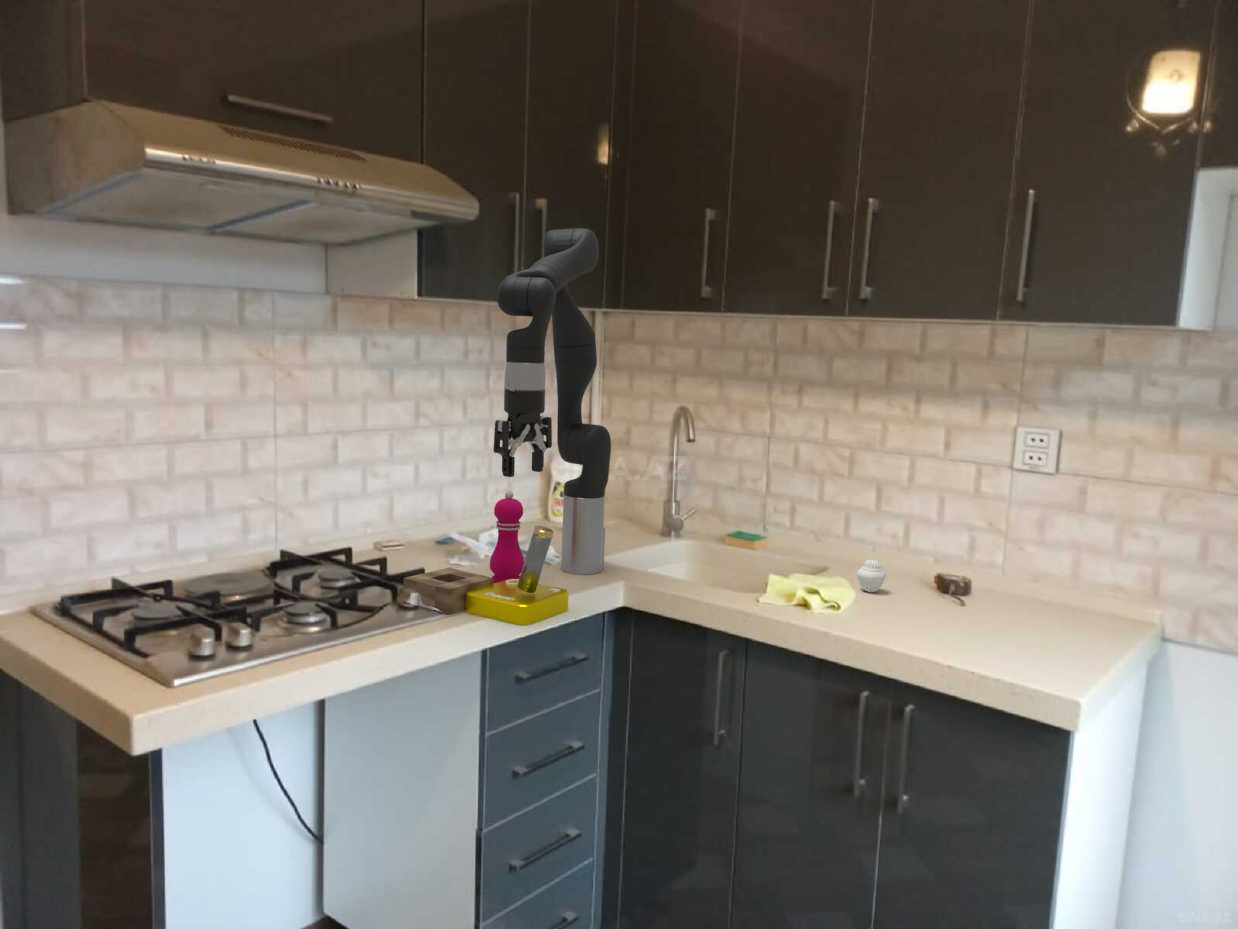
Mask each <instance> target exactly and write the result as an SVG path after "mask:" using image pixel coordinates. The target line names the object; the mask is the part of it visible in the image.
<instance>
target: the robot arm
mask: <svg viewBox="0 0 1238 929" xmlns="http://www.w3.org/2000/svg"><path fill="white" fill-rule="evenodd" d="M599 255H600V253H599V243H598V238H597V235H596V234H595V232H593V230H591V229H589V228H581V227H577V228H576V227H575V228H563V229H559V228H558V229H550V230H548V231H547V232H546V233H545V235H544V238H543V257H542V258H540V259H539V260H537V261H535V262H534V263H533V264H531V266H530V267H529V268H527V269H523V270H520V271H517V272H515V273H512V274H509V275H507V276H506V277H504V278H503V280H502V281H501V282H500V283H499V286H498V288H497V292H496V302H497V306H498V307H499V309H500V310H501V311H502V312H503V314H506V315H507V316H512V317H532V319H531V322H530V323H529V325H528V326H526V327H523V328H517V329H514V330H511V331H509V332H508V333H507V335H506V346H505V347H506V348H505V349H506V353H505V354H506V357H505V358H506V360H505V361H506V362H505V369H504V370H505V371H504V380H503V381H504V383H503V386H504V389H503V391H504V392H503V393H504V395H503V411H504V412H505V413H507V419H506V420H503V419H501V420H500V419H497V420H495V422H494V432H493V434H494V438H493V453H495V454H498V455H500V456H501V472H502V476H503V477H507V478H511V477H512V478H513V477H515V466H516V465H515V461H516V460H515V459H516V458H515V457H516V456H515V454H516V452H517V450H518V448H520V447H521V446H522V443H527V444H529V445H530V447H531V448H530V449H532V451H531V471H532V472H536V473H542V472H543V471H544V465H545V464H544V459H545V452H546V451H547V450H548V449H551V448H552V447H553V443H552V442H553V439H552V438H553V437H552V436H553V434H552V433H553V432H552V431H553V430H552V429H553V427H552V426H553V425H552V422H553V420H552V417H551V416H544V415H543V416H542V415H541V414H544V413H545V408H546V405H545V404H546V370H545V356H546V355H545V354H546V353H545V351H546V350H545V347H546V338H547V333H548V329H549V324H550V322H551V323H552V324H551V326H552V342H553V343H552V344H553V356H554V357H553V358H554V364H555V365H554V366H555V377H556V391H557V392H556V393H557V395H556V396H557V422H556V423H557V427H556V428H557V429H556V431H557V432H556V434H557V435H556V437H557V438H556V439H557V449H558V454H559V455H560V458H561V459H562V460H563V461H564V462H565V463H568V464H574V465H579V466H582V468H581V473H580V475H579V476H577V477H576V478H573V479H569V480H567V481H565V482H564V484H563V500H562V503H563V504H562V528H561V529H562V530H561V531H562V532H561V533H562V534H561V552H560V553H561V554H560V555H561V557H560V558H561V559H560V562H561V563H560V570H561V571H562V572H564V573H567V574H571V575H579V576H580V575H584V576H585V575H594V574H599V573H601V572H602V570H603V569H605V568H604V567H605V544H606V542H605V541H606V528H605V527H604V526H605V525H604V524H605V522H604V521H605V502H606V500H605V498H606V497H605V495H606V487H607V485H608V481H609V476H610V474H609V472H610V465H611V464H610V463H611V453H612V452H611V450H612V441H611V440H612V439H611V435H610V434H611V433H610V432H609V431H608V429H607V428H606V427H605V426H603V425H600V424H594V423H593V424H591V423H583V419H582V418H583V417H582V407H583V406H582V404H583V398H584V395H585V393H586V390H587V388H588V386H589V384H590V382H591V381H592V379H593V376H594V374H595V371H596V369H597V366H598V364H597V363H598V356H597V343H596V342H597V341H596V333H595V331H594V329H593V327H592V325H591V324H590V322H589V320H588V319H587V317H586V316H585V315H584V314H583V312H582V310H581V309H580V308H579V307H578V305H577V304H576V302H575V301H574V299H573V297H572V295H571V293H570V290H569V287H568V284H569V283H570V282H572V281H574V280H575V279H577V278H579V277H581V276H582V275H585V274H587V273H590V272H592V271H593V270H594V269H595V268H596V266H597V264H598V263H599Z"/></svg>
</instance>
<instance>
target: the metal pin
mask: <svg viewBox="0 0 1238 929" xmlns="http://www.w3.org/2000/svg"><path fill="white" fill-rule="evenodd" d="M553 535H554V530H553V529H551V528H549V527H546V526H543V525H542V526H541V525H536V526H534V529H533V532H532V536H531V539H530V543H529V545H528V549H527V552H526V555H525V559H524V565H523V568H522V571H521V573H520V575H519V576H520V578H519V581H518V585H517V587H518V588H519V589H520V590H522V591H524V592H528V593H534V592H536V588H537V585H538V584H539V581H540V578H541V574H542V571H543V568H544V565H545V561H546V558H547V556H548V552H549V549H550V546H551V542H552V540H553Z"/></svg>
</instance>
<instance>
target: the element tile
mask: <svg viewBox="0 0 1238 929" xmlns="http://www.w3.org/2000/svg"><path fill="white" fill-rule="evenodd" d="M518 581H519V579H508V580H504V581H501V582H498V583H494V584H491V585H488V586H484V587H481V588H478V589H474V590H471V591H468V592H467V593H466V601H465V610H464V612H465V613H466V614H469V615H473V616H474V615H475V616H477V617H482V618H487V619H490V620H495V621H497V622H503V623H507V624H511V625H516V626H531V625H534V624H536V623H539V622H542V621H544V620H547V619H550V618H553V617H555V616H557V615H561V614H563V613H566V612H568V610H569V590H567V589H566V588H560V587H555V586H551V585H545V584H541V583H538V585H537V588H536V592H534V593H528V592H524V591H522V590H520V589H519V588H518V587H517V585H518Z"/></svg>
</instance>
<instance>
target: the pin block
mask: <svg viewBox="0 0 1238 929" xmlns="http://www.w3.org/2000/svg"><path fill="white" fill-rule="evenodd" d="M402 579H403V587H402V589H410V590H413V591H415V592H418V593H419V594H420V596H421V601H422V603H423V604H425V605H427V606H432V607H434V608H437V609H439V610H440V611H442V612H443V613H445V614H444V615H449V616H450V615H453V614H457V613H460V612H465V601H466V593H467V592H468V591H471V590H474V589H478V588H481V587H484V586H488V585H491V584H493V578H492V576H491V577H490V576H487V575H482V574H479V573H473V572H469V571H467V570H466V571H465V570H460V569H456V568H452V567H445V568H441V569H437V570H431V571H428V572H424V573H419V574H415V575H412V576H406V577H404V578H402ZM443 613H442V614H443Z"/></svg>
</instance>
